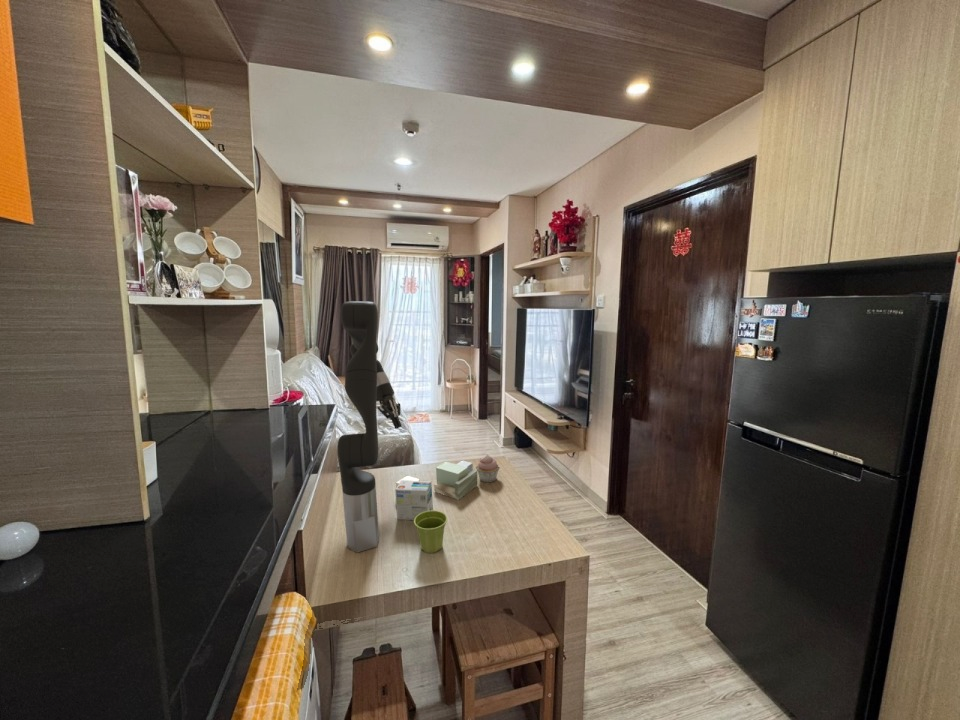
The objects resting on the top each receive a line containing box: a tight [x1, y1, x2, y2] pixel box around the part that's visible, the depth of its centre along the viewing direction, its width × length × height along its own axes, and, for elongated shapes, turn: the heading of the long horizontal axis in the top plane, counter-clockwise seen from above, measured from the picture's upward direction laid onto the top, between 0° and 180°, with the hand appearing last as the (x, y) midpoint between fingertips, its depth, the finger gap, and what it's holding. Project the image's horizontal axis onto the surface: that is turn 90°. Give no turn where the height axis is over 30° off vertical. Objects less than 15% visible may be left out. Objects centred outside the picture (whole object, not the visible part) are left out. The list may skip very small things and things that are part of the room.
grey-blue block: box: [456, 460, 474, 474], centre depth 157 cm, size 5×5×5 cm
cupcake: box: [475, 454, 501, 483], centre depth 154 cm, size 9×9×10 cm
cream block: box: [395, 475, 421, 489], centre depth 143 cm, size 6×6×6 cm
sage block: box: [435, 461, 468, 488], centre depth 148 cm, size 10×6×8 cm, turn 58°
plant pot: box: [413, 510, 448, 554], centre depth 114 cm, size 9×9×9 cm
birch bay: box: [433, 469, 478, 501], centre depth 147 cm, size 11×12×6 cm
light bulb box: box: [394, 479, 434, 521], centre depth 130 cm, size 11×7×11 cm, turn 84°
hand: (398, 427), depth 149 cm, fingers closed
